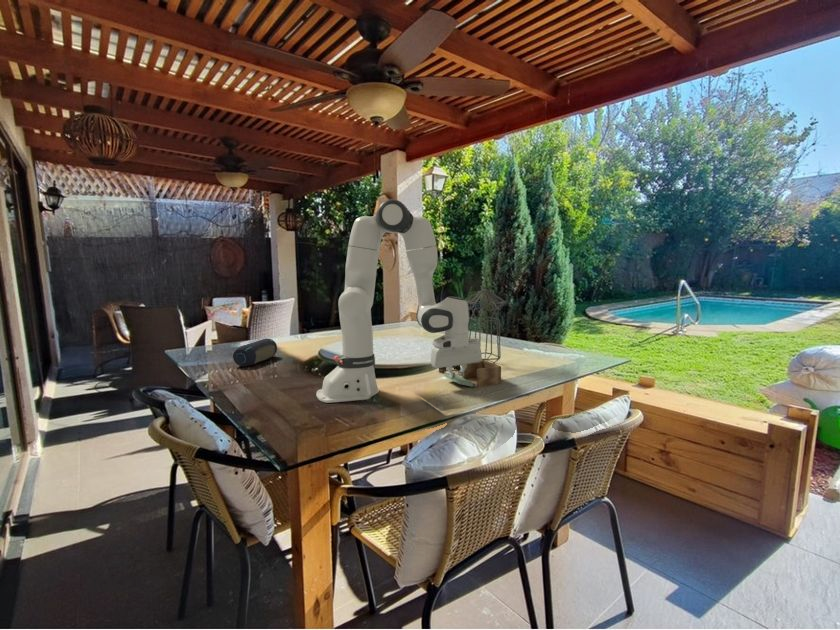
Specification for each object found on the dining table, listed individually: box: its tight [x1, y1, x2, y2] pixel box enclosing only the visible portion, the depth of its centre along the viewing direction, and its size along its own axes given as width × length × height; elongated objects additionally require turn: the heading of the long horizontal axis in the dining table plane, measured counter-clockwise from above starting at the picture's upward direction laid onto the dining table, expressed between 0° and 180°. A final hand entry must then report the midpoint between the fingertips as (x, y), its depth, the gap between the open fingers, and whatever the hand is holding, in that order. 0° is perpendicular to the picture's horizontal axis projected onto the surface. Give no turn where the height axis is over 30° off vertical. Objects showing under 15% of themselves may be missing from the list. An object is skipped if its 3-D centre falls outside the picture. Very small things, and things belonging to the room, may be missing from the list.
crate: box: [461, 360, 502, 388], centre depth 165 cm, size 10×12×8 cm
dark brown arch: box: [438, 365, 462, 375], centre depth 181 cm, size 12×10×8 cm
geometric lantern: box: [464, 288, 508, 364], centre depth 191 cm, size 16×16×35 cm
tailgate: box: [443, 372, 476, 388], centre depth 161 cm, size 1×12×7 cm
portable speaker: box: [232, 337, 278, 368], centre depth 206 cm, size 25×10×10 cm, turn 165°
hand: (456, 376), depth 161 cm, fingers open, 2 cm apart
